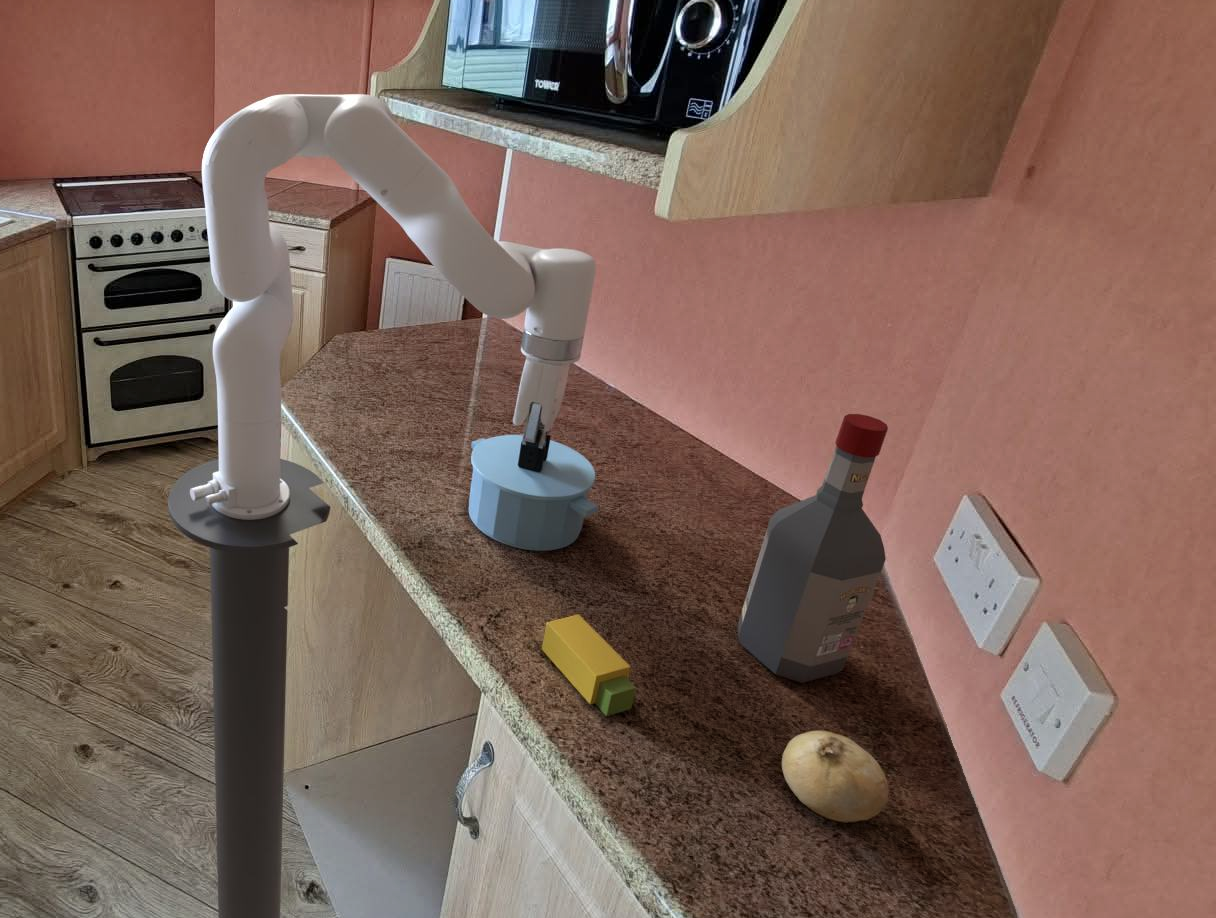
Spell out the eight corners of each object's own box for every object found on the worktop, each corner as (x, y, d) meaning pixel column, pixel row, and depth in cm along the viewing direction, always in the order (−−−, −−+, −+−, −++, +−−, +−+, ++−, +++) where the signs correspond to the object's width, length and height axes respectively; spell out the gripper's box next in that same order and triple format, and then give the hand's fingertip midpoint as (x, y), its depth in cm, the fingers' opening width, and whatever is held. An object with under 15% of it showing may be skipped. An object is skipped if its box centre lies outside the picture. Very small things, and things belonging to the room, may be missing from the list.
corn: (636, 707, 84) (643, 679, 82) (601, 718, 83) (608, 689, 81) (573, 640, 93) (578, 613, 91) (541, 649, 91) (546, 622, 90)
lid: (535, 518, 102) (543, 473, 99) (446, 459, 115) (450, 418, 112) (620, 482, 110) (629, 440, 107) (526, 431, 123) (533, 392, 120)
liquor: (853, 672, 89) (946, 437, 77) (789, 690, 86) (875, 450, 74) (783, 617, 97) (857, 397, 85) (723, 632, 94) (790, 407, 82)
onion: (796, 746, 79) (816, 694, 77) (889, 805, 74) (915, 750, 71) (760, 789, 75) (780, 735, 72) (857, 855, 69) (882, 799, 66)
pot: (543, 575, 103) (552, 521, 100) (433, 497, 120) (439, 448, 117) (620, 539, 111) (631, 487, 107) (507, 470, 127) (514, 423, 124)
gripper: (535, 319, 113) (518, 432, 120) (508, 358, 100) (490, 483, 107) (591, 329, 109) (570, 445, 117) (570, 371, 96) (548, 499, 104)
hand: (532, 462), depth 112 cm, fingers closed on lid, 2 cm apart
